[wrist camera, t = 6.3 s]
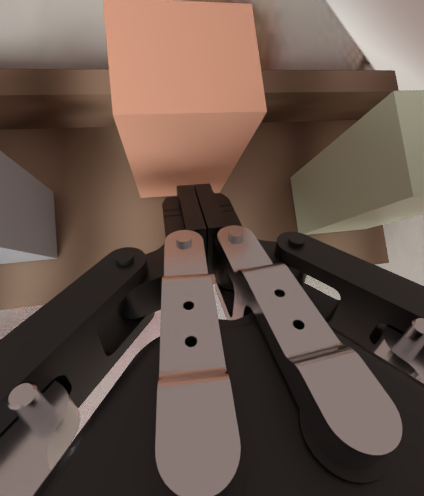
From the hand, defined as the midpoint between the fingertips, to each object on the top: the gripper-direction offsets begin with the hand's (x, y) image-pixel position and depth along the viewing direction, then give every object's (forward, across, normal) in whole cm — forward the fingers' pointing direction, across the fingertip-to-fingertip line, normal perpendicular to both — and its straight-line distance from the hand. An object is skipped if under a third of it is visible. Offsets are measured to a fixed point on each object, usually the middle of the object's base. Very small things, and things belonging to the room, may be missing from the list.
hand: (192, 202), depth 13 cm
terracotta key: (+6, 0, +1) cm, 6 cm away
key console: (+6, 0, +3) cm, 7 cm away
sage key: (+4, -10, +3) cm, 11 cm away
